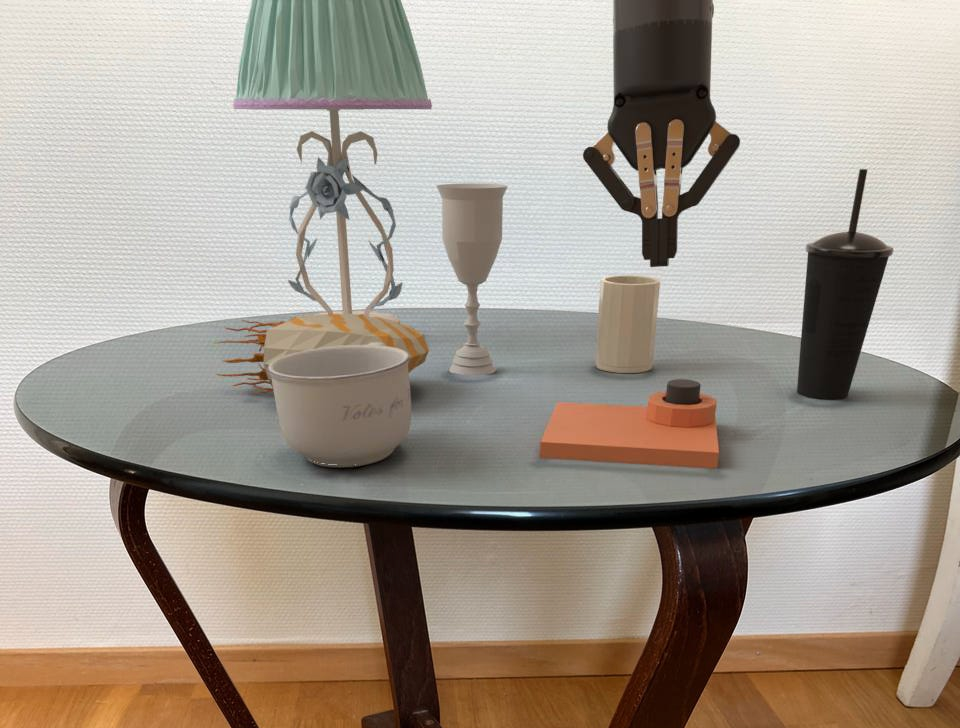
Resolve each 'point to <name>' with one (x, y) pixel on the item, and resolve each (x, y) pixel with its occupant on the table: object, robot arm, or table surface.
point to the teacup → (343, 402)
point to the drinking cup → (838, 305)
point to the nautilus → (328, 339)
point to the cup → (627, 323)
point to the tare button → (683, 392)
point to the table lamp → (332, 101)
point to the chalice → (472, 256)
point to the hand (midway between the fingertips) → (659, 265)
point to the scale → (635, 433)
